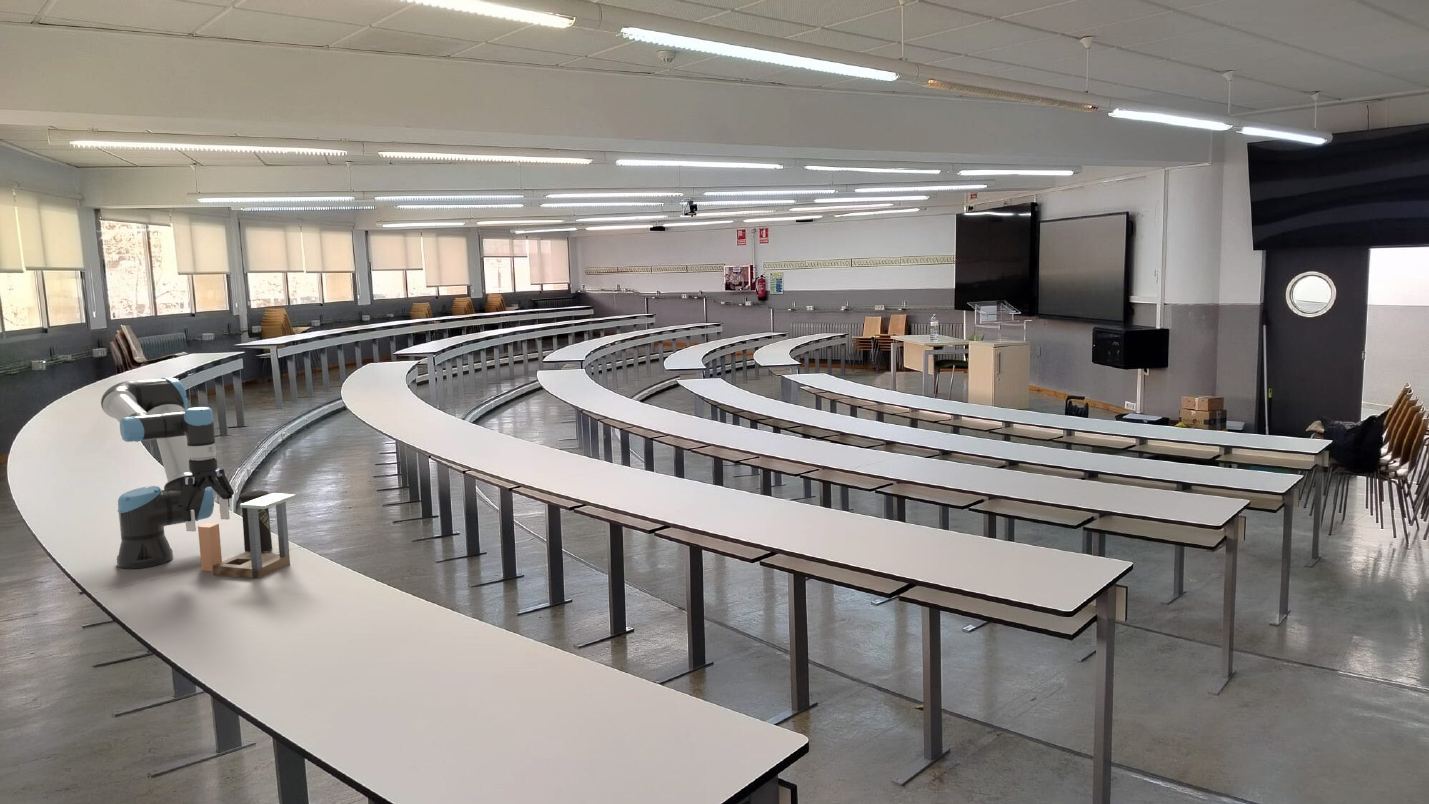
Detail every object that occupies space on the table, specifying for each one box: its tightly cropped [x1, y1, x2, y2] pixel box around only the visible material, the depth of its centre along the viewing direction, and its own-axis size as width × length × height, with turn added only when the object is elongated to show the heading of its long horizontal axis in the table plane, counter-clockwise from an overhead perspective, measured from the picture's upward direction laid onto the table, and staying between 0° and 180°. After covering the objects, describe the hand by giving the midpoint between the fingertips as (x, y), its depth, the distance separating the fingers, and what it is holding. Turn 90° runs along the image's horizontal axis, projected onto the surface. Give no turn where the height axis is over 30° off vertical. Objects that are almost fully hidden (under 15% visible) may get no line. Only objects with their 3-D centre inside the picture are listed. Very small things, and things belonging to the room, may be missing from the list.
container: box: [238, 489, 273, 553], centre depth 294 cm, size 9×9×20 cm
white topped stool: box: [239, 492, 297, 580], centre depth 273 cm, size 8×14×23 cm, turn 167°
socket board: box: [212, 551, 291, 580], centre depth 276 cm, size 16×14×3 cm
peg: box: [197, 522, 223, 572], centre depth 276 cm, size 4×4×14 cm
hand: (208, 525), depth 275 cm, fingers open, 13 cm apart
